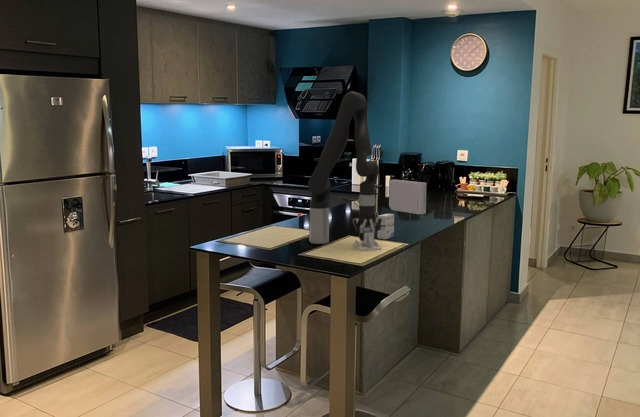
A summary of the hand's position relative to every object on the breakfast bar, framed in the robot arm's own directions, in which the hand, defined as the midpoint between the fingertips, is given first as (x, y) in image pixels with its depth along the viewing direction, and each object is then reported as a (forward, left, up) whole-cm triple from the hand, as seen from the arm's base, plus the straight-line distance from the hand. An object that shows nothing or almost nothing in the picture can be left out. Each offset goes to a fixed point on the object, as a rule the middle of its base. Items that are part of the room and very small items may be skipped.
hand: (366, 240), depth 267 cm
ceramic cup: (+22, +94, -4) cm, 97 cm away
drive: (0, 0, -1) cm, 1 cm away
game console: (+52, +99, -4) cm, 112 cm away
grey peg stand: (0, 0, -3) cm, 3 cm away
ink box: (+15, +20, -4) cm, 25 cm away
